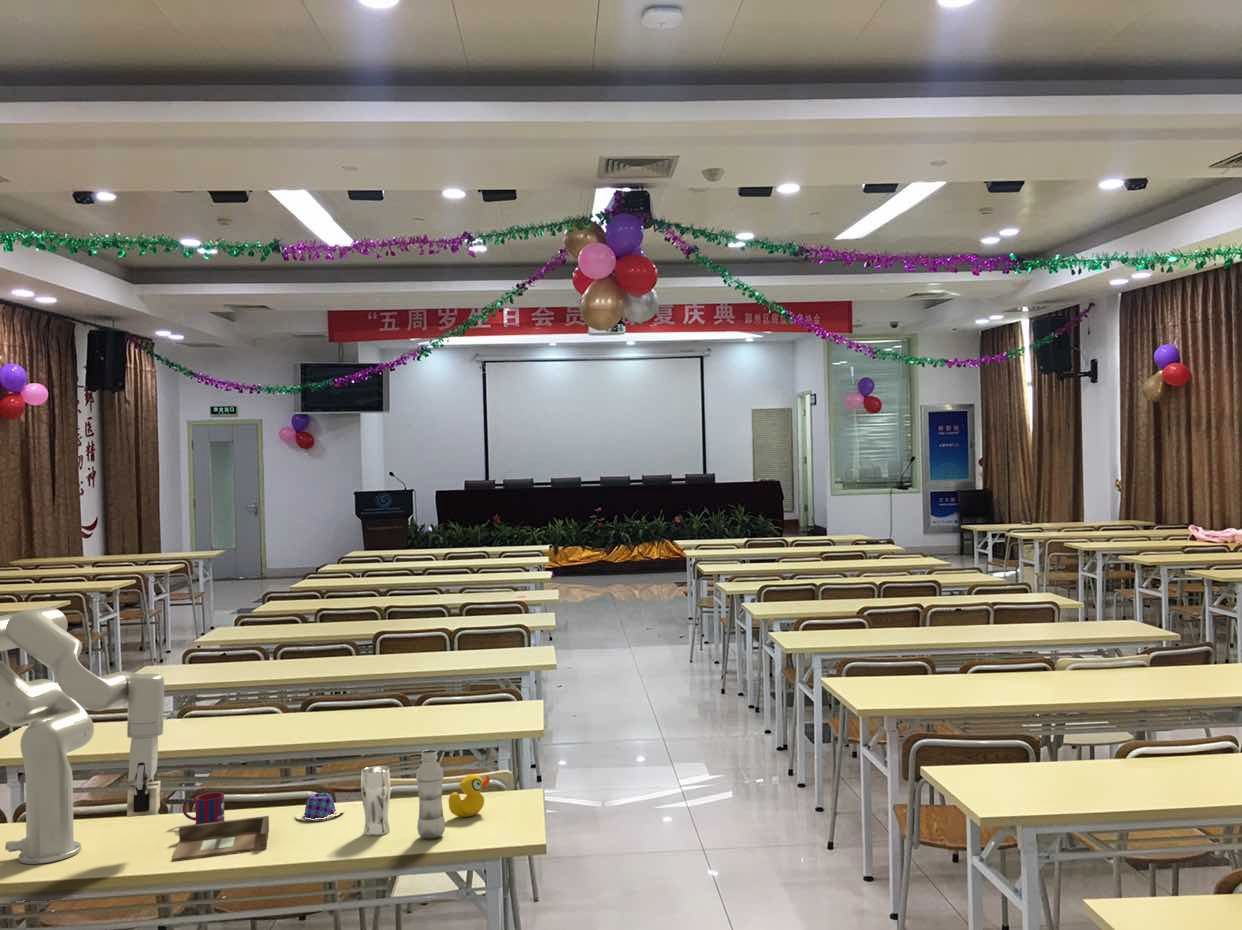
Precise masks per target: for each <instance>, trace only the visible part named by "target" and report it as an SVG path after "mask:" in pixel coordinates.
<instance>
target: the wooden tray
mask: <svg viewBox="0 0 1242 930" xmlns="http://www.w3.org/2000/svg"><path fill="white" fill-rule="evenodd" d="M269 816H270V815H265V816H256V817H247V818H240V819H232V820H231V819H230V820H224V821H221V822H212V823H204V824H196V823H195V824H190V825H189V824H188V825H187V824H186V825H181V826H179V832H178V833H179V838H178V839H179V841H178V843H177V846H176V849H175V851H174V853H173V856H172V858H171V859H172V862H176V860H178V861H183V860H182V859H185V860H193V859H200V858H206V857H214V856H215V857H217V856H223V855H222V854H225V855H229V853H232V854H239V853H238V852H240V853H246V852H247V851H248V852H254V851H255V852H256V851H262V849H264V850H267V849H268V848H267V847H268V842H267V841H268V840H269V834H268V833H270V821H269V820H270V817H269ZM216 855H217V856H216ZM185 860H184V861H185Z"/></svg>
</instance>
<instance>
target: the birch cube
mask: <svg viewBox="0 0 1242 930" xmlns="http://www.w3.org/2000/svg"><path fill="white" fill-rule="evenodd" d="M143 784H145V786H146V783H143ZM134 792H135V782H131V784H130V785H129V788H127V803H126V804H127V805H126V806H127V809H126V811H127V812H126V817H127V818H131V817H141V816H153V815H154V816H155V815H157V813H158V812H159V810H160V808H161V780H155V781H152V782H149V789H148V793H150V801H149V811H147V812H134Z"/></svg>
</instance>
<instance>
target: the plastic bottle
mask: <svg viewBox="0 0 1242 930" xmlns="http://www.w3.org/2000/svg"><path fill="white" fill-rule="evenodd" d="M420 760H421V764H420V765H419V768H418V769H417V770H416V774H415V779H416V780H415V781H416V784H417V785H416V786H417V790H418V791H417V792H418V801H419V803H418V804H419V806H418V819H417V828H416V829H417V832H418V833H417V834H418V836H419V837H420V838H422V839H426V840H427V839H428V840H429V839H430V840H431V839H436V838H439V837H442V836H443V834H444V833H445V829H446V820H445V816H444V809H443V803H442V801H443V797H442V796H443V782H444V770H443V769H442V767H441V765H440V763H439V762H438V761H437V760H438V750H436V749H427V750H426V749H425V750H423V751H421V759H420Z"/></svg>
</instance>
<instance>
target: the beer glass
mask: <svg viewBox="0 0 1242 930" xmlns="http://www.w3.org/2000/svg"><path fill="white" fill-rule="evenodd" d="M391 785H392V784H391V774H390V767H388V766H385V765H375V766H369V767H365V768H363V769H361V776H360V794H361V796H360V797H361V801H362V807H363V811H364V821H365V822H364V828H363V835H365V836H367V837H380V836H384V834H385V835H387V834H388V833H390V830H391V828H390V824H389V808H390V807H389V805H390V800H391V799H390V797H391V790H392V789H391ZM386 833H387V834H386Z"/></svg>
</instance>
